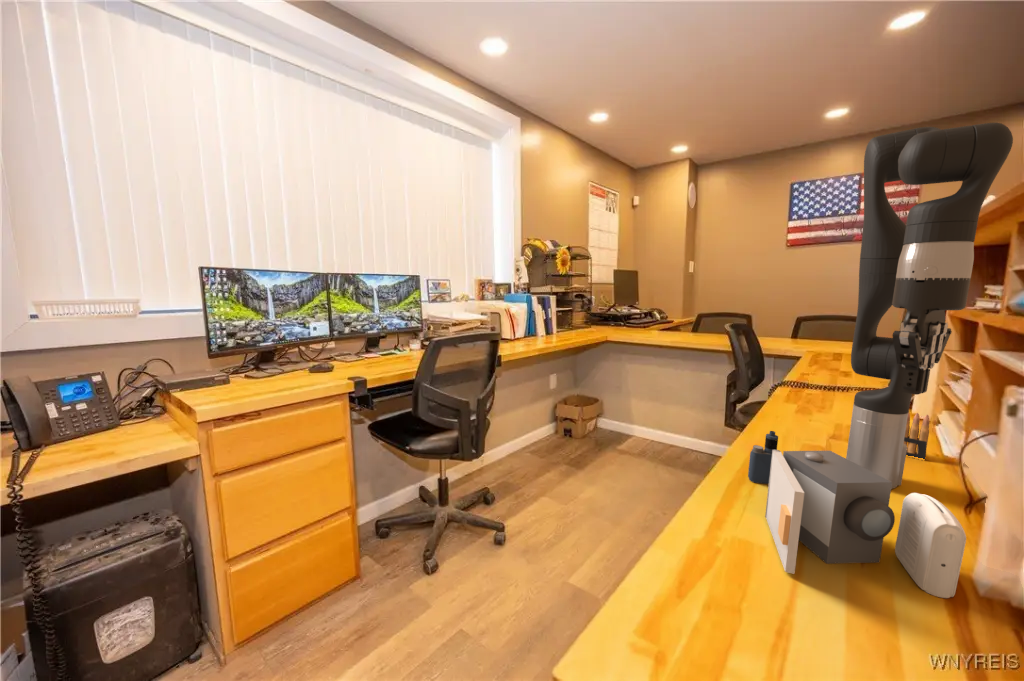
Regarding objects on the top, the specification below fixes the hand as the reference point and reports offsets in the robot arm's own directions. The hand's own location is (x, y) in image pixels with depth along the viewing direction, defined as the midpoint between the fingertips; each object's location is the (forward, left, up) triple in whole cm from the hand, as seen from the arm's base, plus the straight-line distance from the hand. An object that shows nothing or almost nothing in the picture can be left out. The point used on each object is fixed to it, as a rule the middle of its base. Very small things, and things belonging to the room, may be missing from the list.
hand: (913, 392), depth 61 cm
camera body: (+5, -6, -29) cm, 30 cm away
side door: (+14, -6, -29) cm, 32 cm away
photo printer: (-4, +2, -29) cm, 30 cm away
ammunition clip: (-45, -42, -29) cm, 68 cm away
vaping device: (+2, -28, -29) cm, 40 cm away
